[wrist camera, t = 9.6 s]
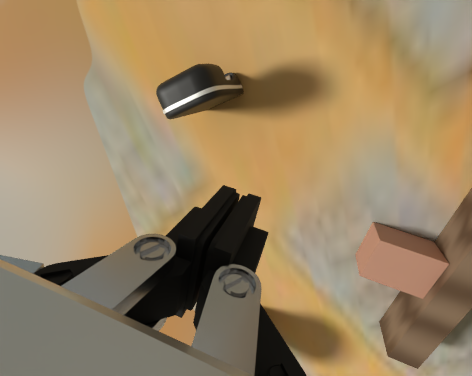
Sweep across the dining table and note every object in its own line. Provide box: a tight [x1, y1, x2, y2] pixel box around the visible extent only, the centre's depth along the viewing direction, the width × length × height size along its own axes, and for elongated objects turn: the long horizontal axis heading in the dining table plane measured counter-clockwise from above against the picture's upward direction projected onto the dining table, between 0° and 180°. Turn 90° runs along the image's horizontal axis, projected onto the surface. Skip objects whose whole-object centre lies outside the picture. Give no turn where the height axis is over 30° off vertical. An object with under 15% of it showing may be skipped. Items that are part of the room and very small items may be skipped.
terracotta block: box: [356, 222, 449, 299], centre depth 35 cm, size 6×8×5 cm
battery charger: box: [157, 64, 243, 119], centre depth 31 cm, size 7×4×11 cm, turn 112°
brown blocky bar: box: [379, 189, 472, 369], centre depth 33 cm, size 28×4×6 cm, turn 167°
